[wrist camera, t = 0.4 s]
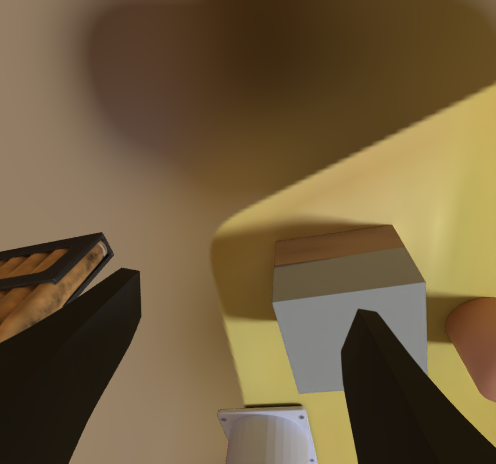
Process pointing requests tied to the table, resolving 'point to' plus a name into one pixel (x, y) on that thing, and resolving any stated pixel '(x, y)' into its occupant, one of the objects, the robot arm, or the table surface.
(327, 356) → the tower top
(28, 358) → the robot arm
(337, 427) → the table surface
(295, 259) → the tower base
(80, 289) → the ammunition clip
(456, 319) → the pink cylinder
